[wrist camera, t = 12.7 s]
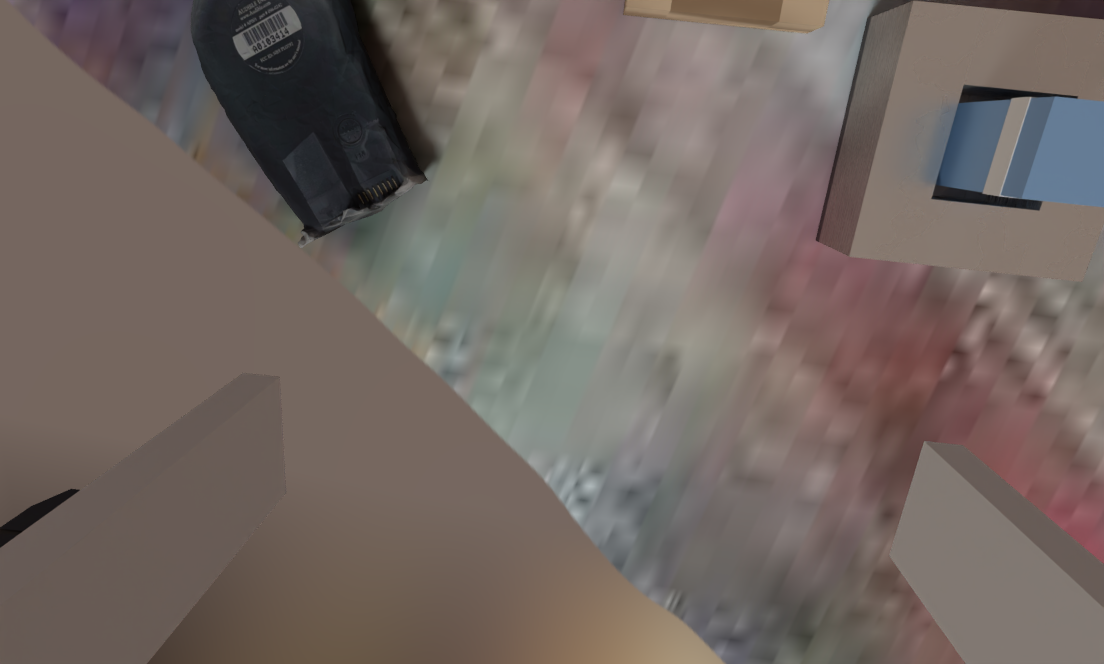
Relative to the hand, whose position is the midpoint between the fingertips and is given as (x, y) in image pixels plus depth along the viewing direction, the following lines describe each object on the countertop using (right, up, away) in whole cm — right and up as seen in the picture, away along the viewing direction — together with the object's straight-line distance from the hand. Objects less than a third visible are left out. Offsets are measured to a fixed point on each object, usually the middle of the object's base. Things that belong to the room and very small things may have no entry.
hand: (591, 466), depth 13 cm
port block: (+21, +13, +22) cm, 34 cm away
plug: (+21, +13, +22) cm, 33 cm away
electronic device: (-15, +17, +24) cm, 33 cm away
